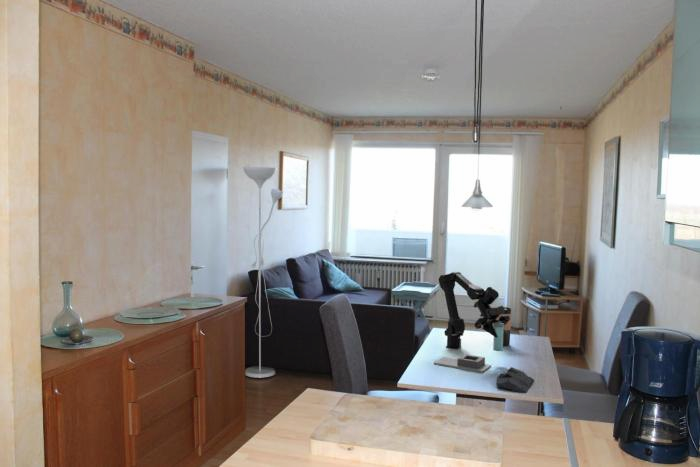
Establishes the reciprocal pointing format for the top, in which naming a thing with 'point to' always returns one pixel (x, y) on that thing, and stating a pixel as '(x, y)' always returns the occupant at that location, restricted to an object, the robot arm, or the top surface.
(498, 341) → the teal cylinder
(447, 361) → the holder board
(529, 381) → the dark slate chunk
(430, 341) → the top surface
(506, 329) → the travel mug
